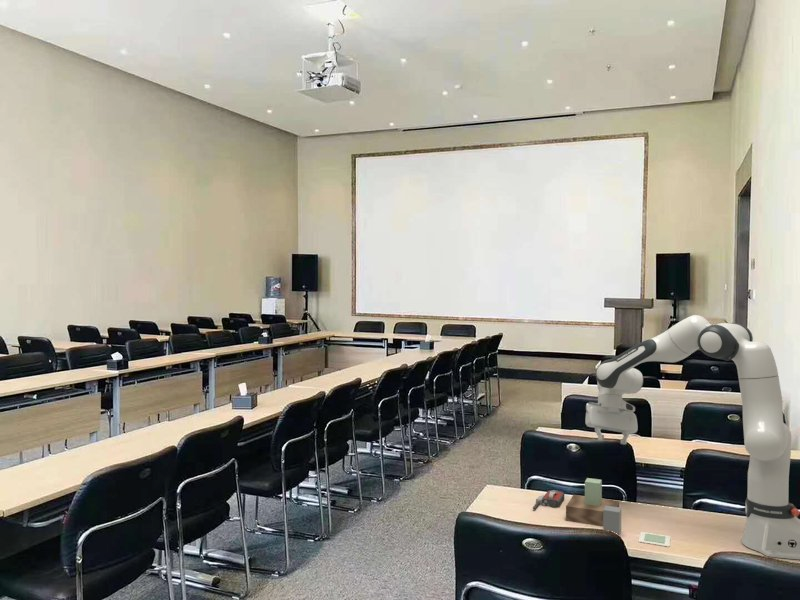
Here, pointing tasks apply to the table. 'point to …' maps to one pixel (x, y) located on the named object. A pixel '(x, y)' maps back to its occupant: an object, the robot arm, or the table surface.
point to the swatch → (654, 539)
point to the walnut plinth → (587, 510)
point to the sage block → (593, 492)
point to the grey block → (612, 519)
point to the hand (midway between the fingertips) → (612, 442)
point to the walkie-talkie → (550, 499)
